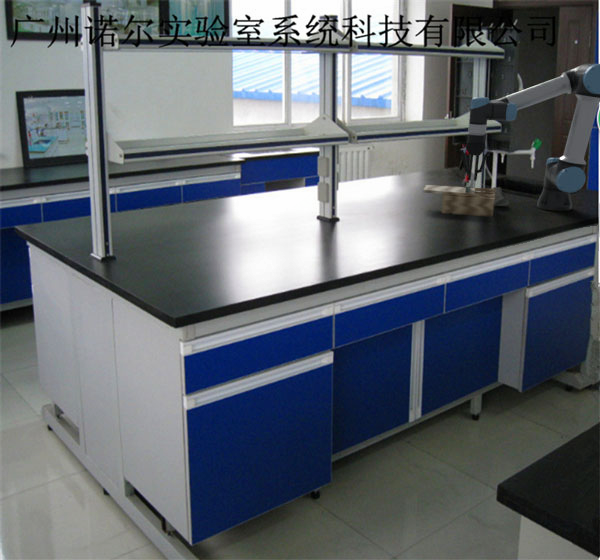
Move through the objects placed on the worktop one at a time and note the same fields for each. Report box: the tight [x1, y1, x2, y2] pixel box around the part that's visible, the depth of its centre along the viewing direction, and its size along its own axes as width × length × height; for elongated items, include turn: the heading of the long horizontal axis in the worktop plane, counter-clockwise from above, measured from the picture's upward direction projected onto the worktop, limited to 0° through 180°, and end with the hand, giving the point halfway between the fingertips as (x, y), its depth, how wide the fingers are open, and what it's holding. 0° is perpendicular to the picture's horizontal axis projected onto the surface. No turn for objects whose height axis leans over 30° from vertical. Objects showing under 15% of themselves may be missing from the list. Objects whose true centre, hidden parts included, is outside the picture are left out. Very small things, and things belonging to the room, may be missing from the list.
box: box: [441, 185, 495, 218], centre depth 319 cm, size 22×14×10 cm, turn 74°
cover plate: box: [422, 182, 476, 195], centre depth 320 cm, size 22×12×4 cm, turn 74°
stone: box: [490, 186, 510, 207], centre depth 331 cm, size 10×10×10 cm
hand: (471, 187), depth 317 cm, fingers closed
